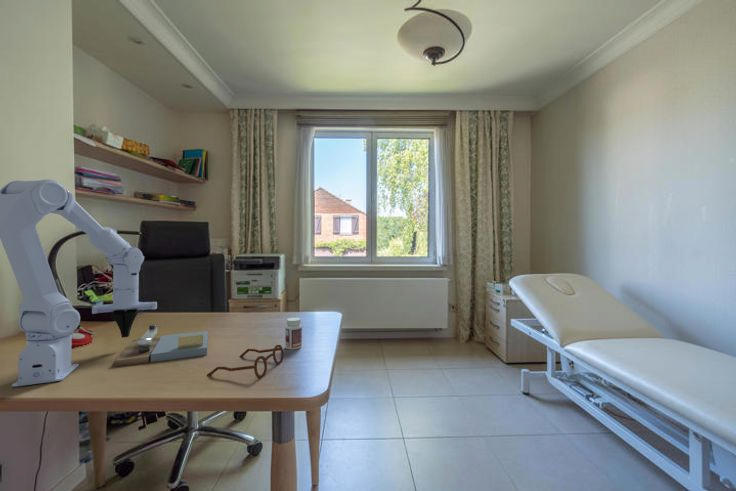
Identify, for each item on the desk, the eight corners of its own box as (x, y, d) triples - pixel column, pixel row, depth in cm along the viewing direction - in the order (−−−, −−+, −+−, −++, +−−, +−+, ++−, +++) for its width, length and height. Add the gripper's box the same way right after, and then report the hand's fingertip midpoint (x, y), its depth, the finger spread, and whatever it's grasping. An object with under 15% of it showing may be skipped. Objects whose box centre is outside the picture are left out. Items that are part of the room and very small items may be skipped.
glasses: (257, 382, 69) (257, 360, 69) (206, 377, 72) (206, 355, 72) (284, 361, 82) (284, 342, 82) (240, 357, 85) (240, 339, 85)
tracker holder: (94, 342, 92) (48, 340, 86) (90, 356, 92) (43, 355, 86) (97, 324, 101) (54, 322, 95) (92, 337, 102) (50, 335, 95)
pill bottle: (303, 345, 95) (303, 317, 95) (298, 350, 90) (298, 321, 90) (288, 344, 95) (288, 317, 95) (282, 349, 90) (283, 320, 90)
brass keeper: (203, 345, 87) (203, 334, 87) (178, 348, 84) (178, 337, 84) (203, 341, 91) (203, 330, 91) (179, 343, 88) (179, 333, 88)
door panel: (206, 354, 85) (206, 347, 85) (150, 362, 80) (150, 354, 80) (208, 337, 101) (208, 331, 101) (161, 342, 96) (161, 335, 96)
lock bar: (150, 346, 82) (150, 337, 82) (135, 347, 81) (135, 338, 81) (159, 332, 95) (159, 324, 95) (147, 333, 94) (147, 325, 94)
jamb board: (148, 362, 79) (148, 351, 79) (115, 366, 76) (115, 355, 76) (160, 342, 96) (160, 333, 96) (133, 345, 93) (133, 335, 93)
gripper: (158, 285, 95) (158, 329, 95) (98, 288, 89) (98, 335, 89) (154, 288, 89) (154, 336, 89) (89, 291, 83) (88, 342, 83)
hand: (125, 336), depth 89 cm, fingers closed
